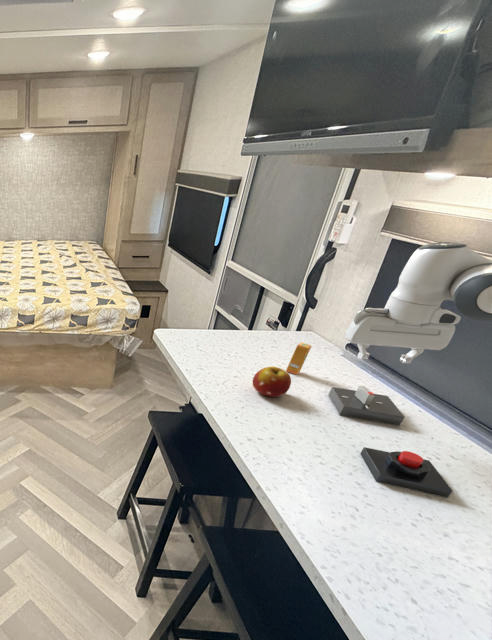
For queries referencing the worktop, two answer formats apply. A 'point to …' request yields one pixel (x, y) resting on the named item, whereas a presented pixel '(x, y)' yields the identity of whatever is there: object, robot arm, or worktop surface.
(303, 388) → the worktop surface
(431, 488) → the switch
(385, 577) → the worktop surface
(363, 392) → the stove knob
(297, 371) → the supplement box
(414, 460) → the button
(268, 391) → the fruit
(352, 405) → the panel
